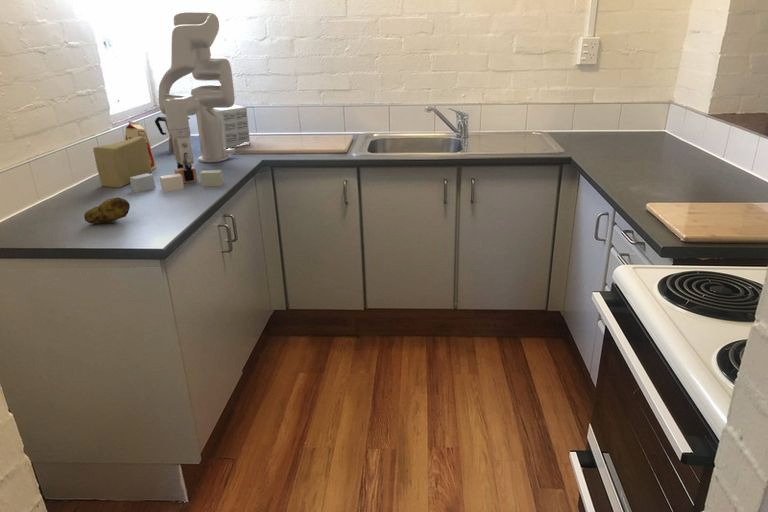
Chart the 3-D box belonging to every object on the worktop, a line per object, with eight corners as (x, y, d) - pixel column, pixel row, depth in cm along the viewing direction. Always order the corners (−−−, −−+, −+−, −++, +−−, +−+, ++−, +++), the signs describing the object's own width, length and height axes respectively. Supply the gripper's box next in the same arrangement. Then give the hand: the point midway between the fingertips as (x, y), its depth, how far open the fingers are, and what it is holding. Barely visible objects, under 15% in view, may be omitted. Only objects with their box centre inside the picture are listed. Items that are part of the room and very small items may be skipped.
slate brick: (149, 186, 212) (147, 173, 210) (155, 188, 210) (153, 174, 208) (132, 190, 207) (129, 177, 205) (137, 192, 205) (135, 179, 203)
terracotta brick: (194, 178, 221) (192, 166, 219) (197, 181, 218) (195, 168, 216) (176, 181, 217) (174, 168, 215) (178, 184, 214) (176, 171, 212)
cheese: (140, 171, 232) (134, 134, 226) (160, 173, 229) (154, 136, 223) (99, 186, 212) (91, 146, 206) (120, 188, 209) (112, 148, 203)
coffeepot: (194, 147, 273) (189, 108, 266) (193, 151, 264) (187, 111, 257) (161, 148, 270) (154, 110, 263) (158, 153, 261) (151, 113, 254)
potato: (100, 217, 180) (95, 193, 177) (137, 219, 177) (132, 195, 174) (82, 226, 172) (76, 201, 169) (120, 229, 170) (115, 203, 167)
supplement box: (209, 143, 280) (204, 106, 273) (233, 139, 288) (229, 103, 281) (226, 149, 268) (221, 110, 261) (251, 144, 277) (247, 106, 269)
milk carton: (145, 172, 230) (136, 122, 222) (124, 171, 232) (115, 121, 224) (157, 166, 238) (149, 118, 230) (138, 166, 240) (129, 117, 232)
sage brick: (223, 183, 215) (221, 170, 213) (220, 185, 212) (219, 172, 210) (204, 183, 215) (202, 170, 213) (201, 186, 211) (200, 173, 209)
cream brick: (181, 186, 211) (179, 173, 209) (184, 189, 208) (182, 175, 206) (161, 189, 208) (159, 176, 206) (164, 192, 205) (162, 178, 203)
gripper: (196, 135, 205) (202, 181, 212) (183, 127, 219) (190, 171, 226) (174, 137, 202) (181, 184, 208) (163, 130, 215) (170, 174, 222)
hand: (186, 177), depth 217 cm, fingers open, 9 cm apart
